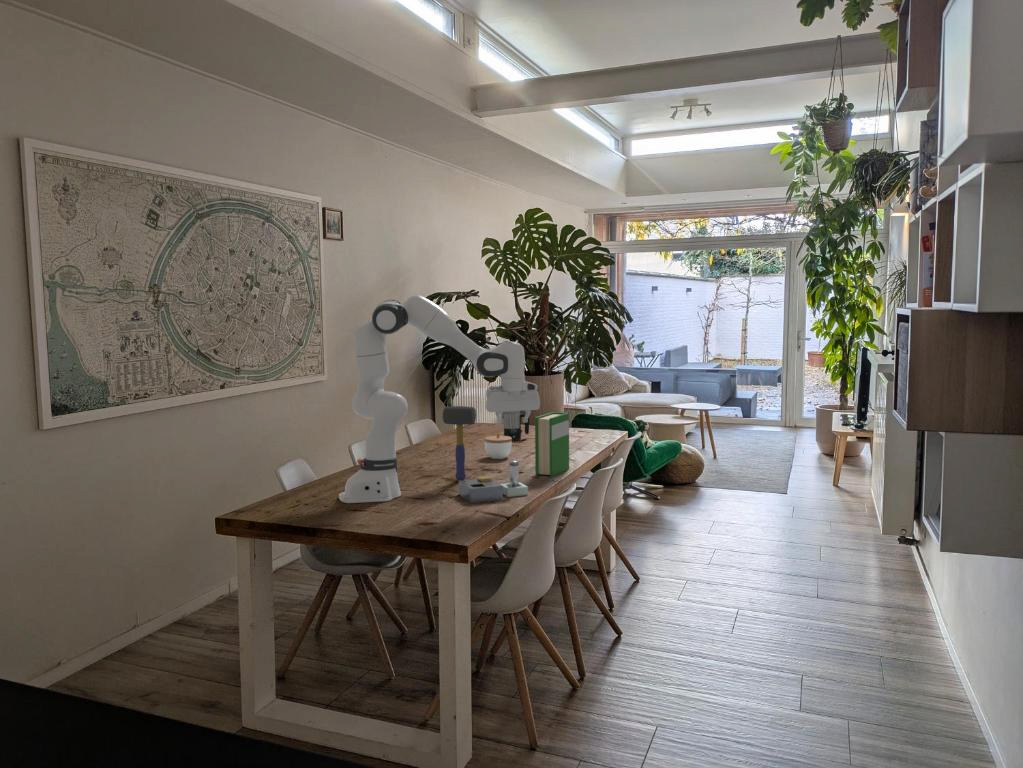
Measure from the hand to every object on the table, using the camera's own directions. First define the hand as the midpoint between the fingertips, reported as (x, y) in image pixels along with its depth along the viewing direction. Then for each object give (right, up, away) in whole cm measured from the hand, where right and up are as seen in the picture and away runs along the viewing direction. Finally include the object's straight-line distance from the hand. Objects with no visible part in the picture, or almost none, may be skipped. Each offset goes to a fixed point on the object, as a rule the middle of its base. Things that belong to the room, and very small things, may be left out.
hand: (513, 423), depth 282 cm
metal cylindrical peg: (0, -26, +3) cm, 26 cm away
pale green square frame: (0, -26, +3) cm, 26 cm away
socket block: (-12, -27, -2) cm, 29 cm away
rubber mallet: (-21, -24, +25) cm, 40 cm away
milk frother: (0, -14, +123) cm, 124 cm away
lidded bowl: (-7, -20, +71) cm, 74 cm away
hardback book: (+17, -23, +39) cm, 48 cm away
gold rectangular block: (-10, -26, +3) cm, 28 cm away
